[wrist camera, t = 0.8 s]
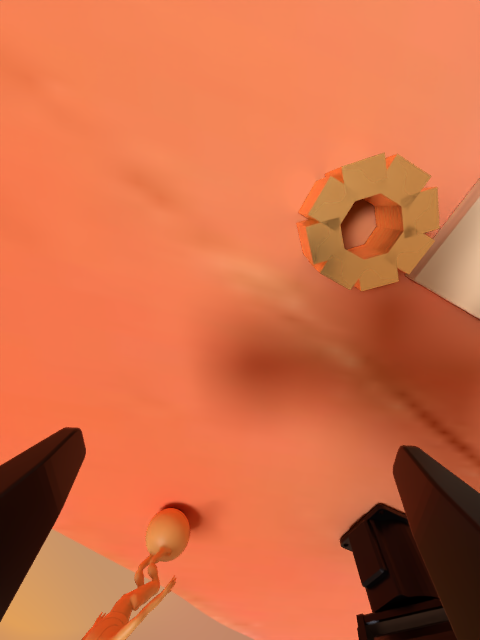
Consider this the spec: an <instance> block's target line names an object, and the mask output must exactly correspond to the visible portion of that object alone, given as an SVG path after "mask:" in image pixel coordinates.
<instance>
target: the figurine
mask: <svg viewBox="0 0 480 640" xmlns="http://www.w3.org/2000/svg"><path fill="white" fill-rule="evenodd" d="M189 536H190V526H189V522H188V519H187V517H186V516H185V515H184V513H182V512H181V511H180V510H178V509H175V508H167V509H164V510H162V511H160V512H158V513H157V514H156V515H155V516H154V517H153V518H152V520H151V521H150V523H149V525H148V528H147V531H146V546H147V549H148V551H149V553H150V556H149V557H148V558H147V559H145V560H144V561H143V562H142V563H141V564H140V565H139V567H138V571H137V572H136V574H135V583H136V584H137V586H138V588H137V589H135V590H133V591H131V592H129V593H127V594H124V595H123V596H122V597H121V599H120V600H118V601H117V602H116V604H115V605H114V607H113V609H112V610H111V612H110V613H108V614H107V615H106V616H105V614H106V613H105V614H104V615H103V616H102V617H101V615H102V613H101V614H100V615H99V617H98V618H97V620H96V621H95V623H94V625H93V627H92V628H91V629H90V630H89V631H88V632H87V633H86V635H85V636H84V637H83V638H82V640H126V638H127V637H129V635H130V634H131V633H132V632H133V631H134V629H135V628H136V627H137V626H138V625H139V624H140V623H141V622H142V621H143V619H144V618H145V617H146V616H147V614H148V613H149V612H150V611H152V610H153V609H154V608H155V607H156V606H157V605H158V604H159V603H160V602H161V601H162V599H163V598H164V597H165V596H166V595H167V593H169V592H170V591H171V589H172V587H173V586H174V584H175V583H176V582H175V580H176V578H175V579H174V577H175V575H174V577H173V578H172V580H171V581H170V582H169V584H168V585H167V586H166V588H165V589H164V590H163V591H162V592H161V593H160V594H158V595H157V596H156V597H155V598H154V599H153V600H151V601H150V602H149V603H148V604H147V605H146V606H145V607H144V608H143V609H142V610H141V611H140V612H139V614H138V615H137V616H136V617H134V618H133V619H132V620H130V621H129V618H130V615H131V612H132V610H134V611H136V610H137V609H138V608H139V607H140V606H141V605H142V604H144V603H146V602H147V601H148V600H149V599H150V598H151V597H152V596H154V595H155V594H156V593H157V592H158V591H159V588H160V582H159V577H158V570H157V567H156V565H155V563H158V562H159V561H163V562H167V561H171V560H173V559H175V558H177V557H178V556H179V555H180V554H181V553H182V552H183V551H184V549H185V548H186V546H187V544H188V541H189ZM148 565H149V567H148V574H149V576H150V577H151V578H152V579H153V580H152V581H151V582H149V583H147V584H145V585H144V575H143V569H144V568H145V567H146V566H148ZM173 579H174V580H173ZM104 616H105V617H104ZM103 617H104V618H103ZM128 621H129V622H128Z"/></svg>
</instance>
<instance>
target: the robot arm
mask: <svg viewBox="0 0 480 640" xmlns="http://www.w3.org/2000/svg"><path fill="white" fill-rule="evenodd" d="M85 454H86V448H85V444H84V439H83V435H82V431H81V429H80V428H72V427H66V428H63V429H61V430H59V431H58V432H56V433H54V434H53V435H51V436H49V437H48V438H46V439H44V440H43V441H41V442H39V443H38V444H36V445H34V446H33V447H31V448H29V449H27V450H26V451H24V452H22V453H21V454H19V455H17V456H16V457H14V458H12V459H11V460H9V461H7V462H6V463H4V464H2V465H1V466H0V622H1V620H2V618H3V616H4V614H5V612H6V610H7V609H8V607H9V605H10V603H11V601H12V600H13V598H14V596H15V594H16V593H17V591H18V589H19V587H20V585H21V584H22V582H23V580H24V578H25V576H26V574H27V573H28V571H29V569H30V567H31V565H32V564H33V562H34V560H35V558H36V556H37V555H38V553H39V551H40V549H41V547H42V545H43V544H44V542H45V540H46V538H47V536H48V535H49V533H50V531H51V529H52V527H53V526H54V524H55V522H56V520H57V518H58V516H59V514H60V512H61V510H62V508H63V506H64V503H65V501H66V499H67V497H68V494H69V492H70V490H71V488H72V485H73V483H74V481H75V478H76V476H77V474H78V472H79V469H80V467H81V465H82V463H83V460H84V458H85ZM393 475H394V479H395V482H396V485H397V488H398V491H399V494H400V497H401V500H402V503H403V507H404V510H405V513H406V515H405V514H402V513H400V512H398V511H396V510H393V509H391V508H389V507H387V506H384V505H377V506H376V507H375V508H374V509H372V510H371V511H370V512H369V513H368V514H367V515H366V516H365V517H364V518H363V519H362V520H361V521H359V522H358V523H357V524H356V525H355V526H354V527H353V528H352V529H351V530H350V531H349V532H348V533H347V534H345V535H344V536H343V537H342V538H341V539H340V544H341V547H343V548H345V549H347V550H350V551H352V552H353V555H354V558H355V562H356V565H357V569H358V572H359V576H360V579H361V583H362V586H363V587H365V588H366V592H367V595H368V599H369V602H370V606H371V609H372V613H370V614H366V615H364V614H359V615H356V616H357V622H358V628H357V630H358V637H359V640H480V493H478V492H477V491H476V490H474V489H473V488H472V487H470V486H469V485H468V484H466V483H465V482H464V481H462V480H461V479H460V478H458V477H457V476H456V475H454V474H453V473H452V472H450V471H449V470H448V469H446V468H445V467H444V466H442V465H441V464H440V463H438V462H437V461H436V460H434V459H433V458H432V457H430V456H429V455H428V454H426V453H425V452H424V451H422V450H421V449H420V448H418V447H416V446H405V445H403V446H400V447H399V449H398V452H397V455H396V459H395V462H394V465H393Z"/></svg>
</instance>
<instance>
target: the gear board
mask: <svg viewBox="0 0 480 640" xmlns="http://www.w3.org/2000/svg"><path fill="white" fill-rule="evenodd" d="M433 240H435V242H434V243H433V244H432V246H431V247H430V248H429V250H428V251H427V252H426V253H425V255H424V256H423V257H422V259H421V260H420V261H419V262H418V264H417V265H416V266H415V268H414V269H413V270H412V271H411V273H410V274H407V273H406V274H405V276H406V277H408V278H410V279H411V280H413V281H415V282H416V283H418V284H420V285H421V286H423V287H425V288H427V289H428V290H430V291H432V292H433V293H435V294H437V295H438V296H440V297H442V298H443V299H445V300H447V301H449V302H450V303H452V304H454V305H455V306H457V307H459V308H460V309H462V310H464V311H466V312H467V313H469V314H471V315H472V316H474V317H476V318H477V319H479V320H480V178H479V180H478V181H477V182H476V184H475V185H474V186H473V187H472V189H471V190H470V191H469V193H468V194H467V195H466V197H465V198H464V199H463V200H462V202H461V203H460V204H459V206H458V207H457V208H456V209H455V211H454V212H453V213H452V215H451V216H450V217H449V219H448V220H447V221H446V222H445V224H444V225H443V226H442V228H441V229H440V230H439V231H438V233H437V234H436V235H435V237H434V238H433Z"/></svg>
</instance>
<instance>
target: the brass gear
mask: <svg viewBox="0 0 480 640" xmlns="http://www.w3.org/2000/svg"><path fill="white" fill-rule="evenodd" d="M430 178H431V176H430V175H429V174H427V173H426V172H424V171H423V170H421V169H420V168H418V167H417V166H415V165H414V164H412V163H411V162H409V161H408V160H406V159H405V158H403V157H402V156H400V155H399V154H396V155H393V156H390V157H387V158H385V153H382V154H379V155H376V156H373V157H370V158H367V159H364V160H361V161H357V162H354V163H351V164H348V165H345V166H342V167H340V168H337V169H335V170H333V171H330V172H328V173H326V174H325V178H323V179H321V180H318V181H316V182H315V184H314V186H313V187H312V189H311V191H310V193H309V194H308V196H307V198H306V200H305V201H304V203H303V205H302V207H301V208H300V210H299V212H298V213H299V214H301V215H303V216H304V217H306V218H308V220H304V221H301V222H298V223H296V224H297V228H298V233H299V237H300V242H301V246H302V251H303V254H304V255H305V256H306V257H307V258H308V259H309V262H310V263H311V264H312V265H313V266H314V268H315V269H316V270H317V271H318V272H319V273H321V274H322V275H324V276H326V277H328V278H329V279H331V280H333V281H335V282H337V283H338V284H340V285H342V286H344V287H345V288H347V289H349V290H351V289H352V287H353V286H355V287H356V288H358V289H359V290H360V291H365V290H368V289H372V288H376V287H380V286H384V285H387V284H391V283H395V282H399V279H398V270H400V271H402V272H404V273H407V274H410V273H411V271H412V270H413V269H414V268H415V266H416V265H417V264H418V262H419V261H420V260H421V259H422V257H423V256H424V255H425V253H426V252H427V251H428V250H429V248H430V247H431V246H432V244H433V243H434V242H435V240H433V239H432V238H430V237H428V236H427V235H425V234H424V233H426V232H429V231H433V230H436V229H440V228H439V210H438V191H437V187H431V188H423V187H424V186H425V185H426V183H427V182H428V180H429V179H430ZM361 199H364V200H366V201H367V202H369V203H370V204H372V205H374V209H375V217H376V225H377V227H376V228H375V229H374V231H373V232H372V234H371V235H370V237H369V238H368V240H367V241H366V243H365V244H364V245H360V246H357V247H353V248H350V249H345V248H344V244H343V238H342V232H341V226H340V224H341V222H342V221H343V219H344V218H345V216H346V215H347V213H348V211H349V210H350V208H351V207H352V205H353V204H354V202H355V201H357V200H361ZM397 269H398V270H397Z"/></svg>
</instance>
